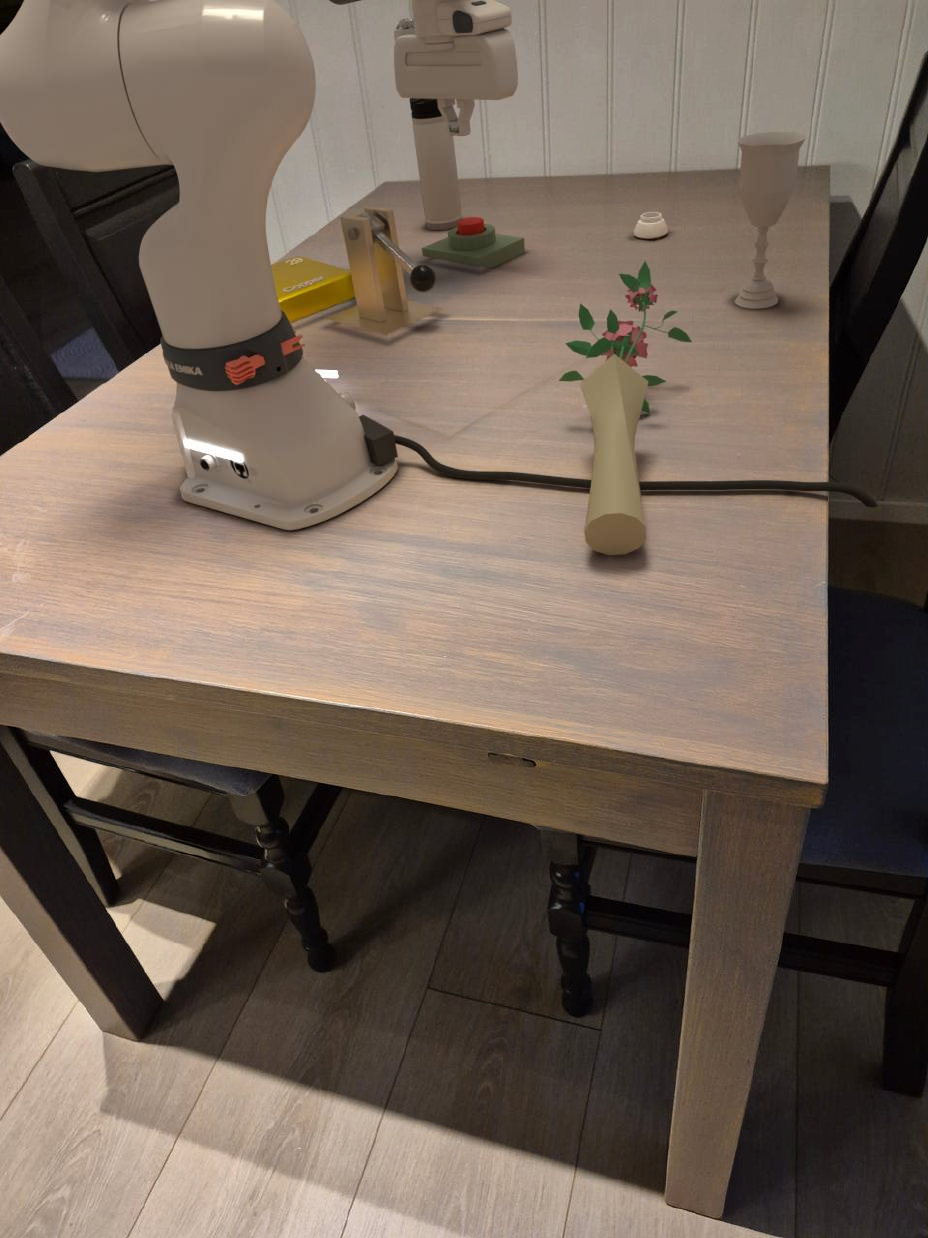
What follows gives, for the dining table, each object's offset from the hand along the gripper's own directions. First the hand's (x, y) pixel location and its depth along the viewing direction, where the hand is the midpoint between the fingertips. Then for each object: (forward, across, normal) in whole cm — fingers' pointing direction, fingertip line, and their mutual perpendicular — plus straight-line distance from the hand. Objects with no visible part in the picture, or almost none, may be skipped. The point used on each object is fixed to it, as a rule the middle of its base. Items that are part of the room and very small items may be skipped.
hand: (459, 134), depth 124 cm
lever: (+9, +10, -24) cm, 27 cm away
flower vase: (+18, +54, -36) cm, 67 cm away
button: (+13, -1, +1) cm, 14 cm away
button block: (+17, -1, +1) cm, 17 cm away
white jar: (+17, +18, +20) cm, 32 cm away
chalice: (+18, +45, +3) cm, 49 cm away
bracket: (+17, +6, -24) cm, 30 cm away
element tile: (+18, -11, -27) cm, 34 cm away
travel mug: (+17, -18, +12) cm, 27 cm away
